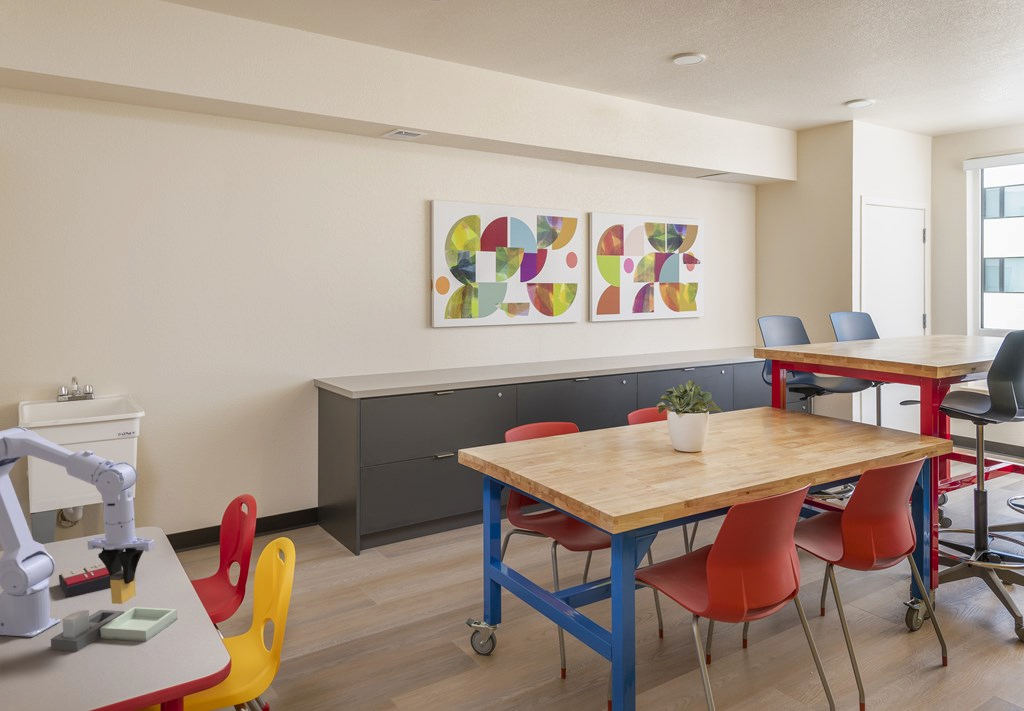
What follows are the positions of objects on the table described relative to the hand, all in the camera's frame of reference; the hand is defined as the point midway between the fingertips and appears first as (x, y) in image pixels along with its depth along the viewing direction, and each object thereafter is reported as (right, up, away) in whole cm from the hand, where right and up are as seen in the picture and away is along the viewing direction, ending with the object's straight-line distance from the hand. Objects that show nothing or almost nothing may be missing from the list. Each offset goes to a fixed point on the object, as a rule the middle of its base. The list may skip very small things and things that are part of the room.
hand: (123, 581), depth 154 cm
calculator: (-21, -9, +26) cm, 35 cm away
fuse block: (-6, -11, -2) cm, 12 cm away
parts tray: (+3, -10, 0) cm, 11 cm away
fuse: (-7, -11, -6) cm, 14 cm away
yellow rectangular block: (0, -4, 0) cm, 4 cm away
